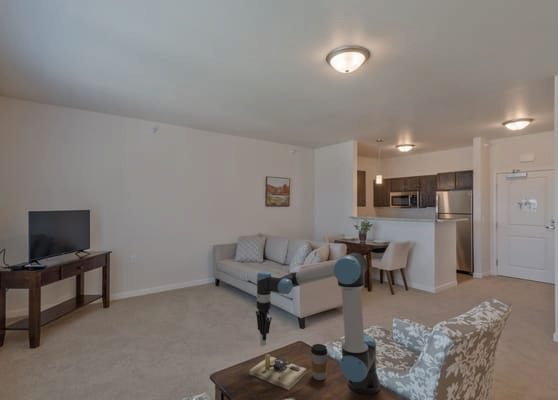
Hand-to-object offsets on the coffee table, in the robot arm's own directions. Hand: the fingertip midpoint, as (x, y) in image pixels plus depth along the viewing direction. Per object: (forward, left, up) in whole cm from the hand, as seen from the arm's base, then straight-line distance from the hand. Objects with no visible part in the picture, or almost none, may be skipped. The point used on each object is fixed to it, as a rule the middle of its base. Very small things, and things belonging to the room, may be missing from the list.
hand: (263, 345), depth 157 cm
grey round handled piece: (-8, -2, -10) cm, 13 cm away
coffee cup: (-28, -10, -13) cm, 32 cm away
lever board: (-9, -1, -13) cm, 16 cm away
